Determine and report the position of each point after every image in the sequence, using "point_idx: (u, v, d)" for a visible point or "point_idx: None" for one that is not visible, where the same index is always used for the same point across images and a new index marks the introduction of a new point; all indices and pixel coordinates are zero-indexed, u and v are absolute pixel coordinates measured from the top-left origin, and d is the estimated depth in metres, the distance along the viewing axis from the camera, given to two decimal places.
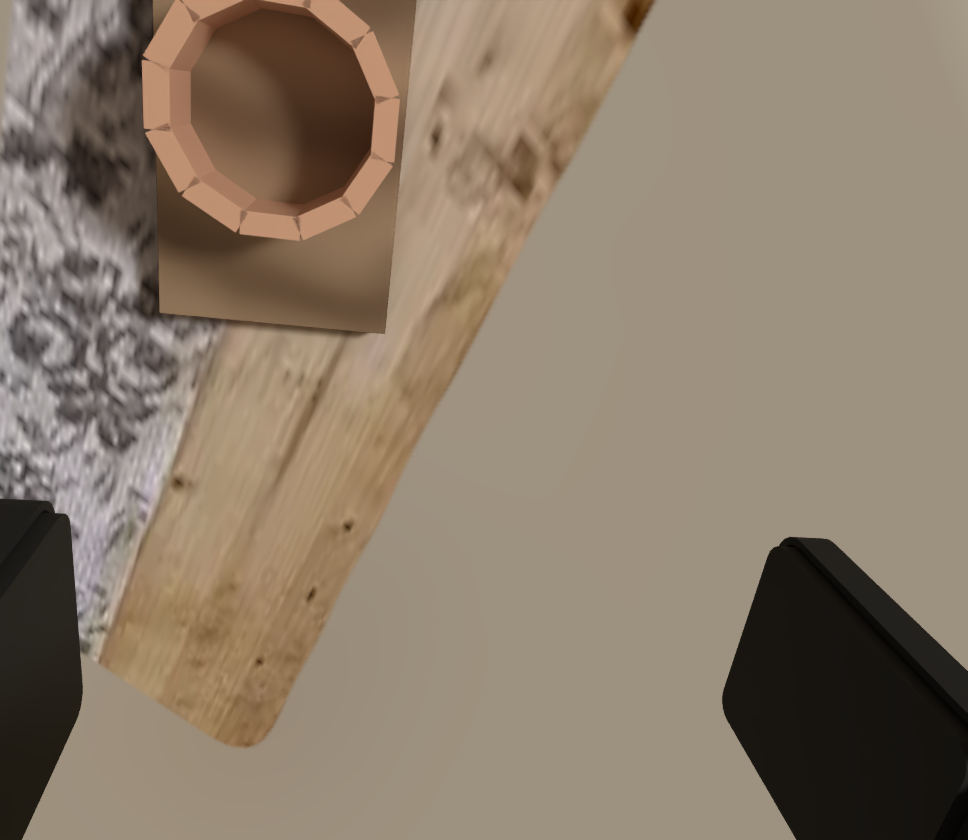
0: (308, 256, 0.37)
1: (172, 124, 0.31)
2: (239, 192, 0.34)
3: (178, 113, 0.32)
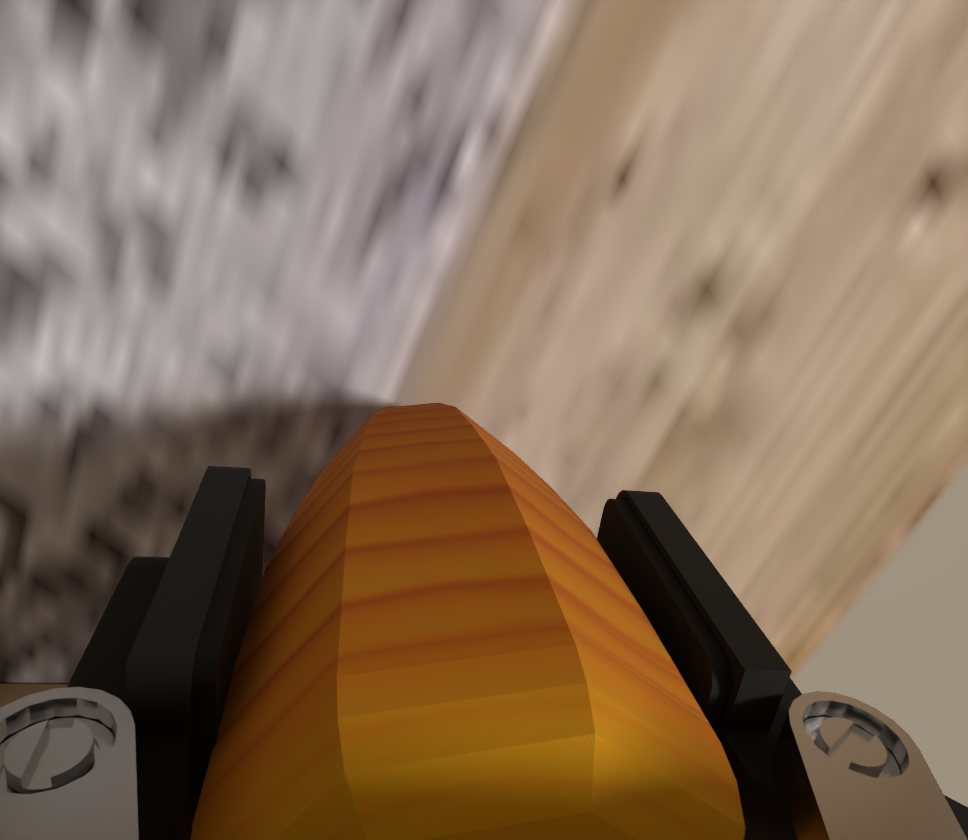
0: None
1: None
2: None
3: None
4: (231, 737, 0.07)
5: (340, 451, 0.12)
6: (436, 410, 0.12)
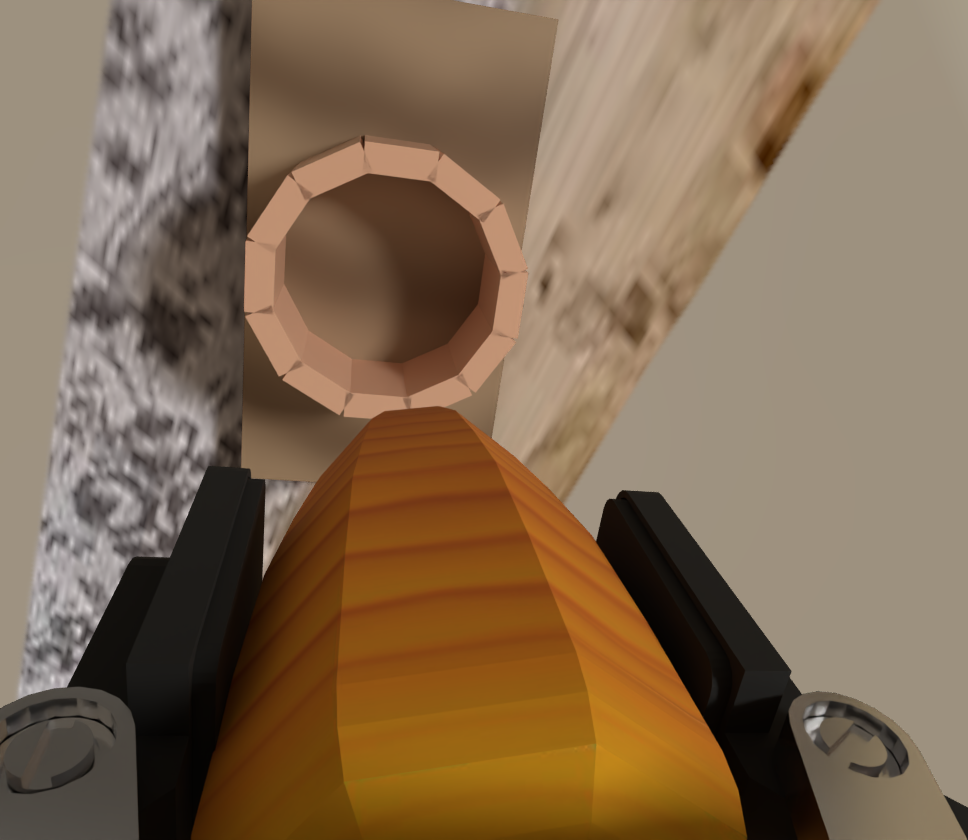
0: None
1: (274, 304, 0.27)
2: (336, 358, 0.31)
3: (278, 286, 0.28)
4: (231, 744, 0.07)
5: (340, 455, 0.12)
6: (436, 414, 0.12)
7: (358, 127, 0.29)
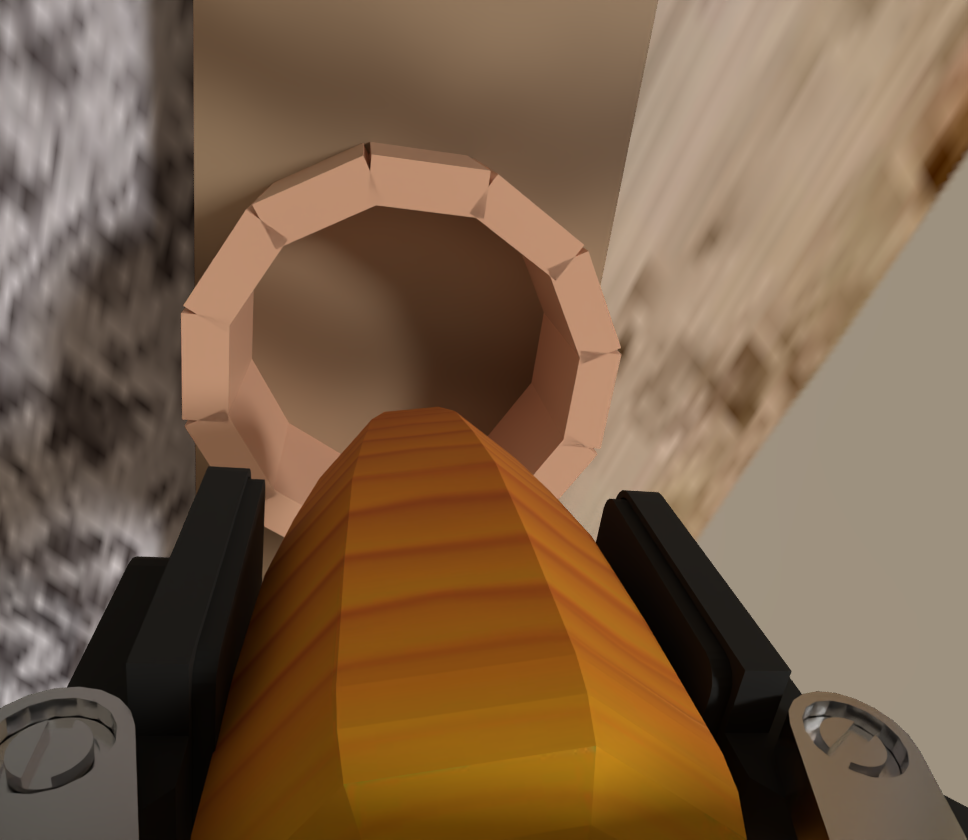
0: None
1: (231, 404, 0.18)
2: (329, 466, 0.21)
3: (238, 373, 0.18)
4: (230, 747, 0.07)
5: (340, 456, 0.12)
6: (436, 414, 0.12)
7: (360, 130, 0.19)
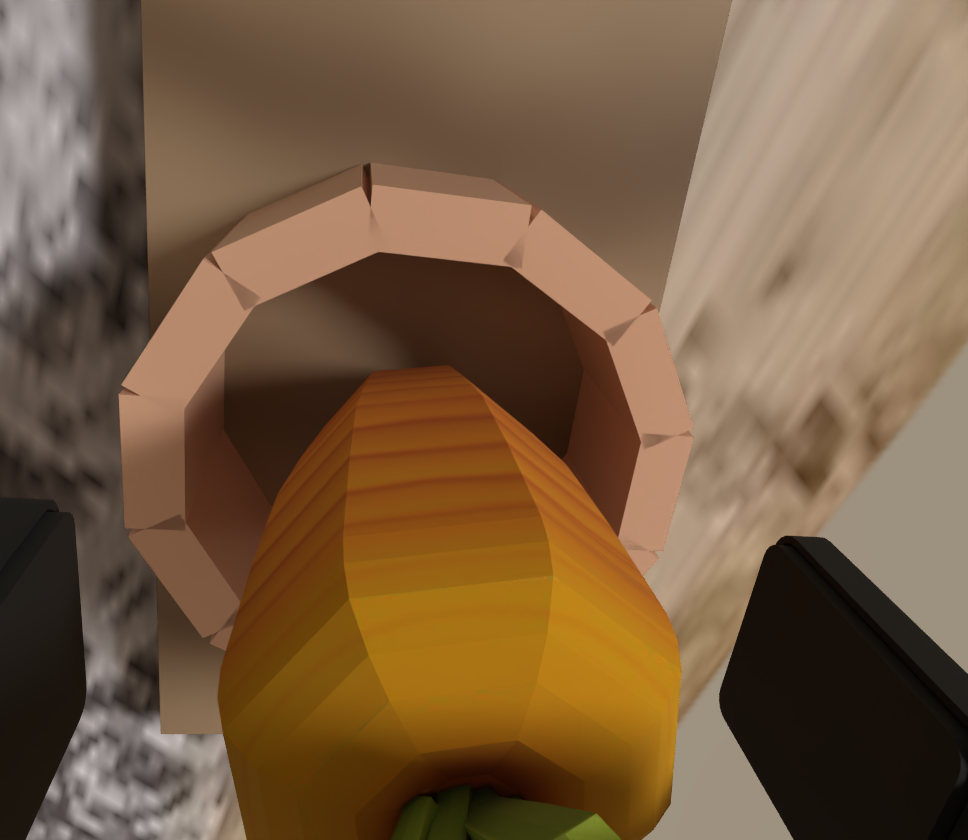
0: None
1: (190, 504, 0.14)
2: None
3: (202, 459, 0.14)
4: (253, 605, 0.08)
5: (344, 404, 0.14)
6: (431, 367, 0.14)
7: (358, 148, 0.15)
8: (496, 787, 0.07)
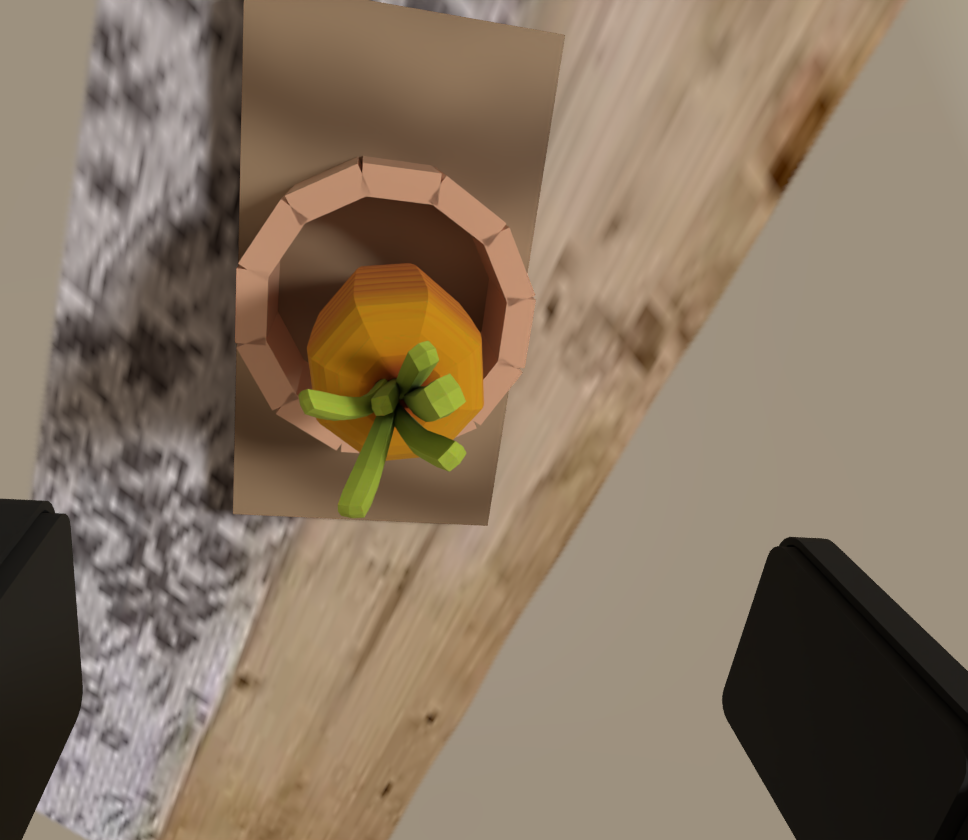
0: None
1: (267, 334, 0.26)
2: None
3: (271, 315, 0.27)
4: (317, 330, 0.20)
5: None
6: None
7: (356, 148, 0.27)
8: None
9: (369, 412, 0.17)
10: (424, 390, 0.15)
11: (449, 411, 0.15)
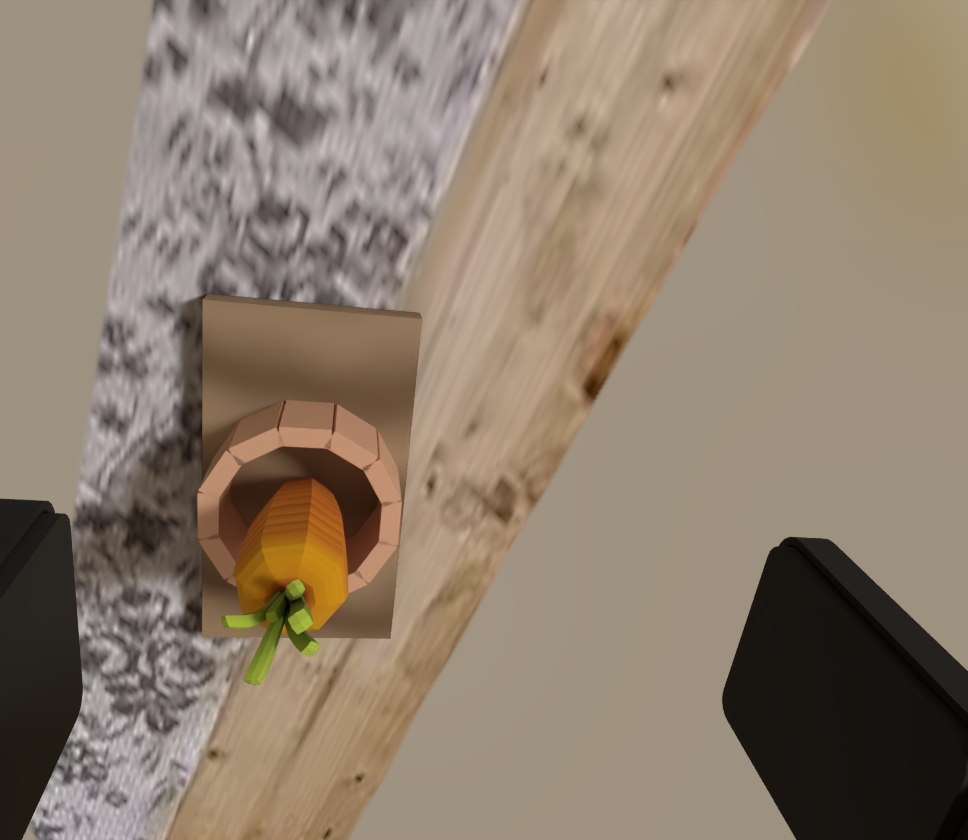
0: None
1: (219, 530, 0.38)
2: None
3: (223, 513, 0.39)
4: (242, 554, 0.33)
5: None
6: (305, 480, 0.38)
7: (281, 395, 0.40)
8: None
9: (265, 619, 0.30)
10: (288, 619, 0.28)
11: (302, 630, 0.28)
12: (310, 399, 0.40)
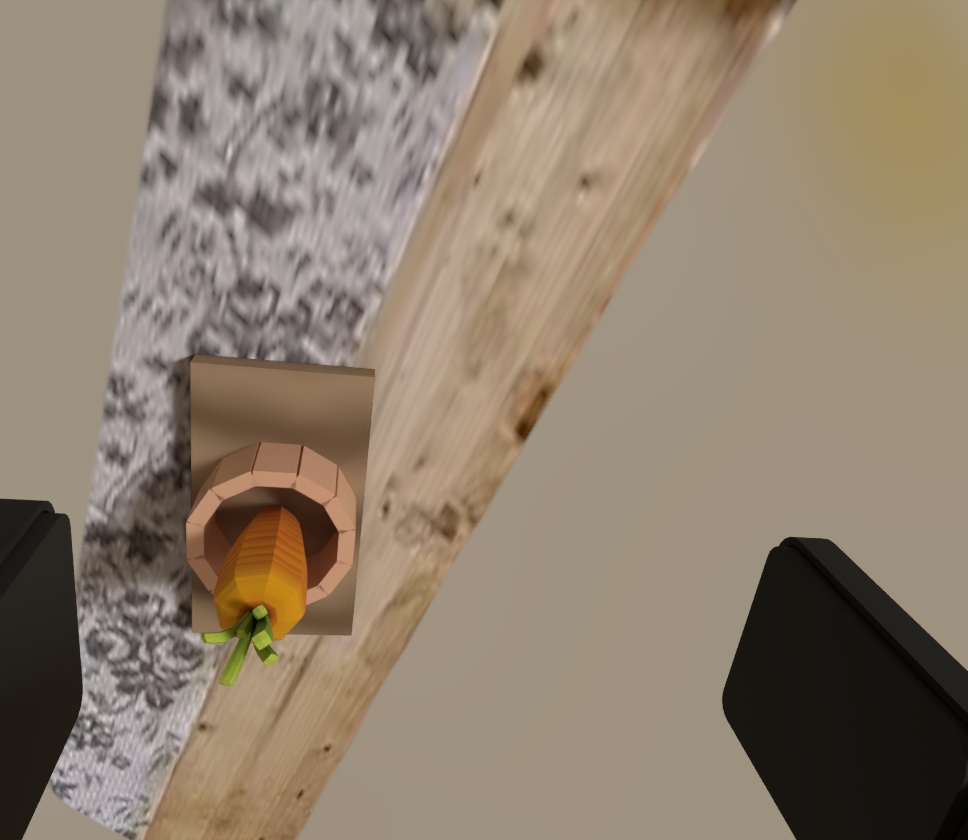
0: None
1: (205, 551, 0.47)
2: None
3: (208, 536, 0.47)
4: (220, 579, 0.41)
5: (250, 522, 0.46)
6: (275, 512, 0.46)
7: (257, 438, 0.48)
8: None
9: (236, 635, 0.38)
10: (252, 638, 0.36)
11: (263, 647, 0.36)
12: (281, 441, 0.48)
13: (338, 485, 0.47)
